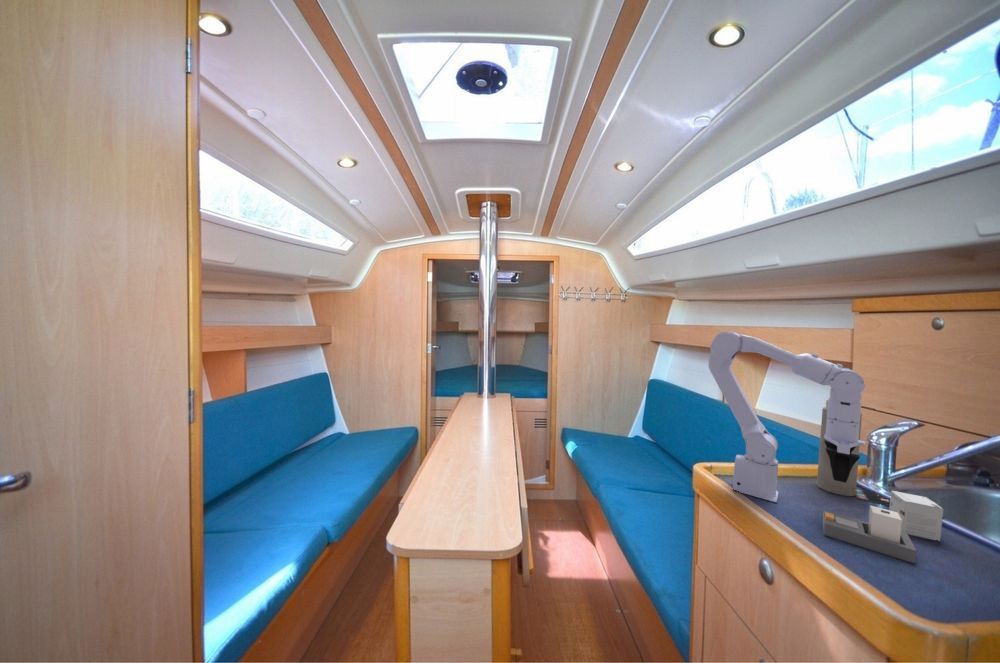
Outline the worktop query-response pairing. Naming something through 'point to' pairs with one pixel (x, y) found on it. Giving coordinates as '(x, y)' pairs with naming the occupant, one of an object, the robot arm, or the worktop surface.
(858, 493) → the smartphone
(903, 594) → the worktop surface
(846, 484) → the thermos bottle
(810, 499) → the worktop surface
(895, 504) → the skincare box
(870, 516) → the light grey rectangular block
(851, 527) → the sliding tray box
